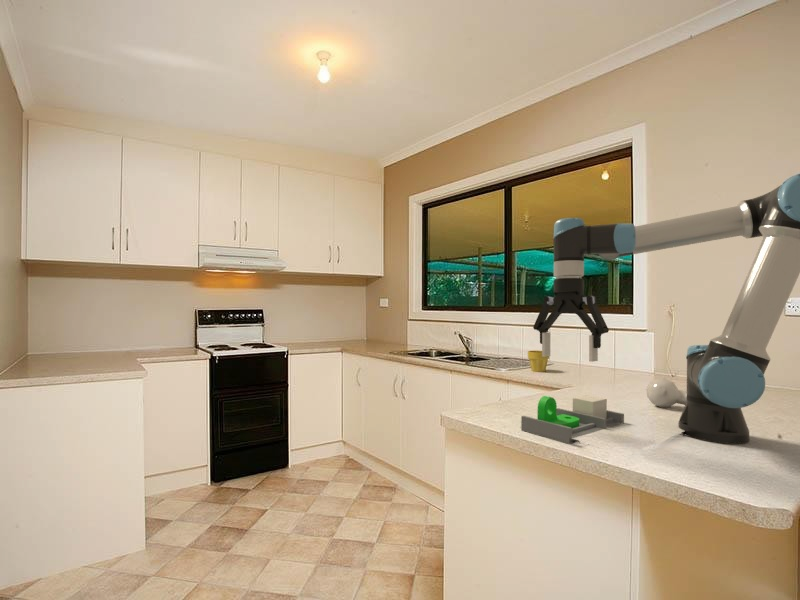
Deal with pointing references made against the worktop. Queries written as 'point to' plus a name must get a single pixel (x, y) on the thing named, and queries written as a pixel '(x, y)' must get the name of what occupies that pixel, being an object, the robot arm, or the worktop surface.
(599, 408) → the block
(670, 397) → the potion bottle
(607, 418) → the grey rail frame
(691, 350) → the robot arm
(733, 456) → the worktop surface
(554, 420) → the mechanical part
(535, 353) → the plant pot
